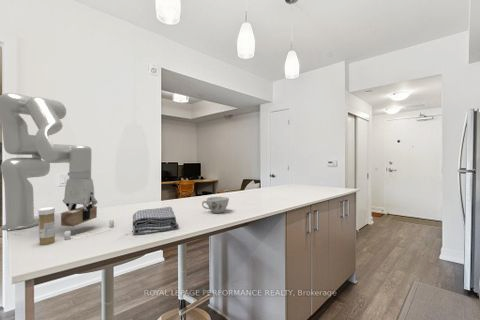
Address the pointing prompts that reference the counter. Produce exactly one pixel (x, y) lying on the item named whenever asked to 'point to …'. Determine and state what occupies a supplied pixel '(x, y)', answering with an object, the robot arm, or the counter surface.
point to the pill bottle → (46, 225)
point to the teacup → (216, 204)
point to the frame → (76, 216)
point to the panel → (89, 232)
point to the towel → (154, 220)
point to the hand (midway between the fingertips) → (79, 218)
